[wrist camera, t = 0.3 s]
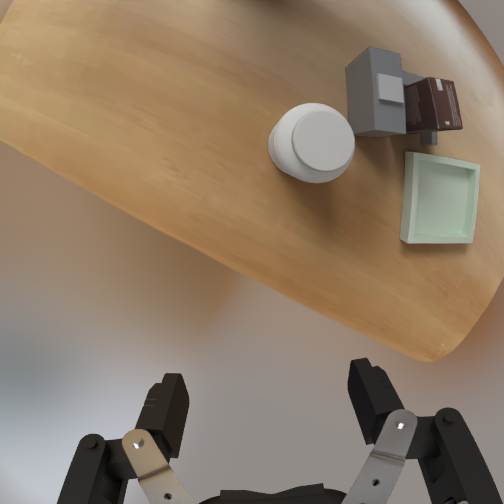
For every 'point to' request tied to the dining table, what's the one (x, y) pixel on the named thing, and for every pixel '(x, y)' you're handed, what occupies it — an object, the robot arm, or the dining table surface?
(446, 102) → the box
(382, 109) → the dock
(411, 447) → the robot arm
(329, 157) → the pill bottle
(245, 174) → the dining table surface
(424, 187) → the tray
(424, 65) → the dining table surface
